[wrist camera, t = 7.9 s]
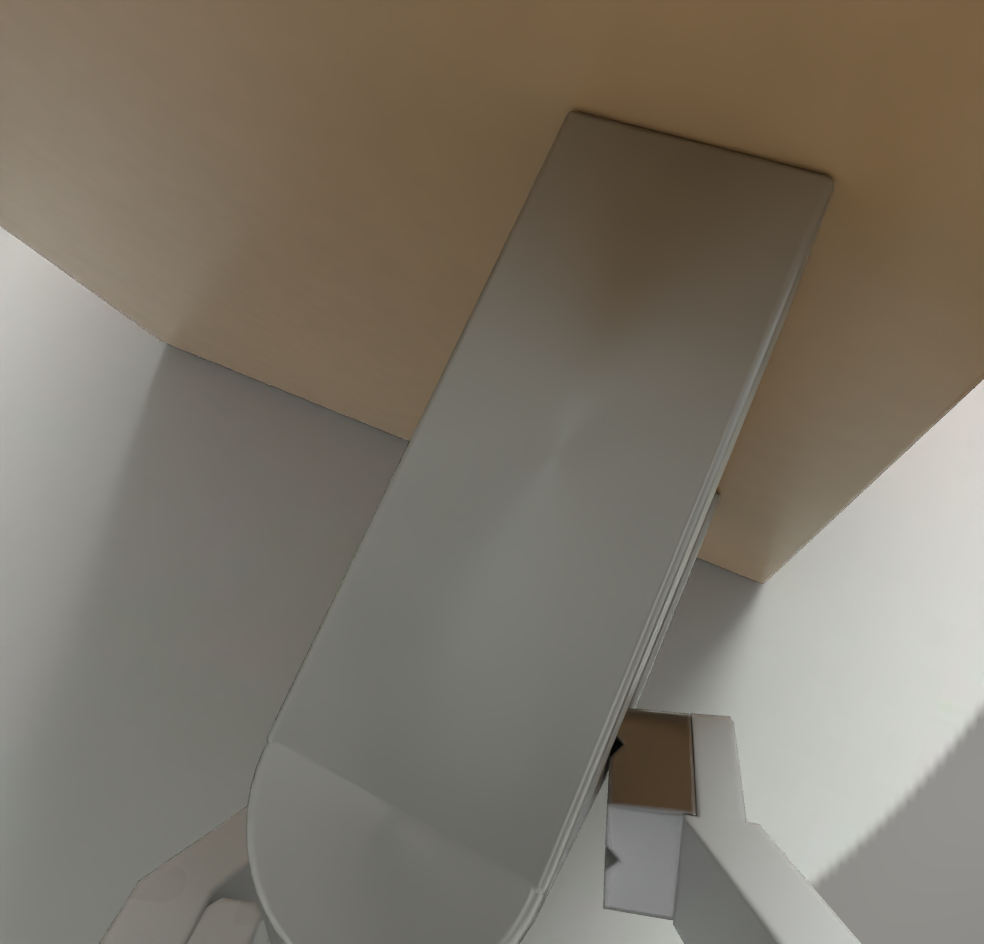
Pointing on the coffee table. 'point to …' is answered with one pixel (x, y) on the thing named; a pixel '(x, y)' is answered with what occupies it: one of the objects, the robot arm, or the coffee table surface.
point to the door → (517, 352)
